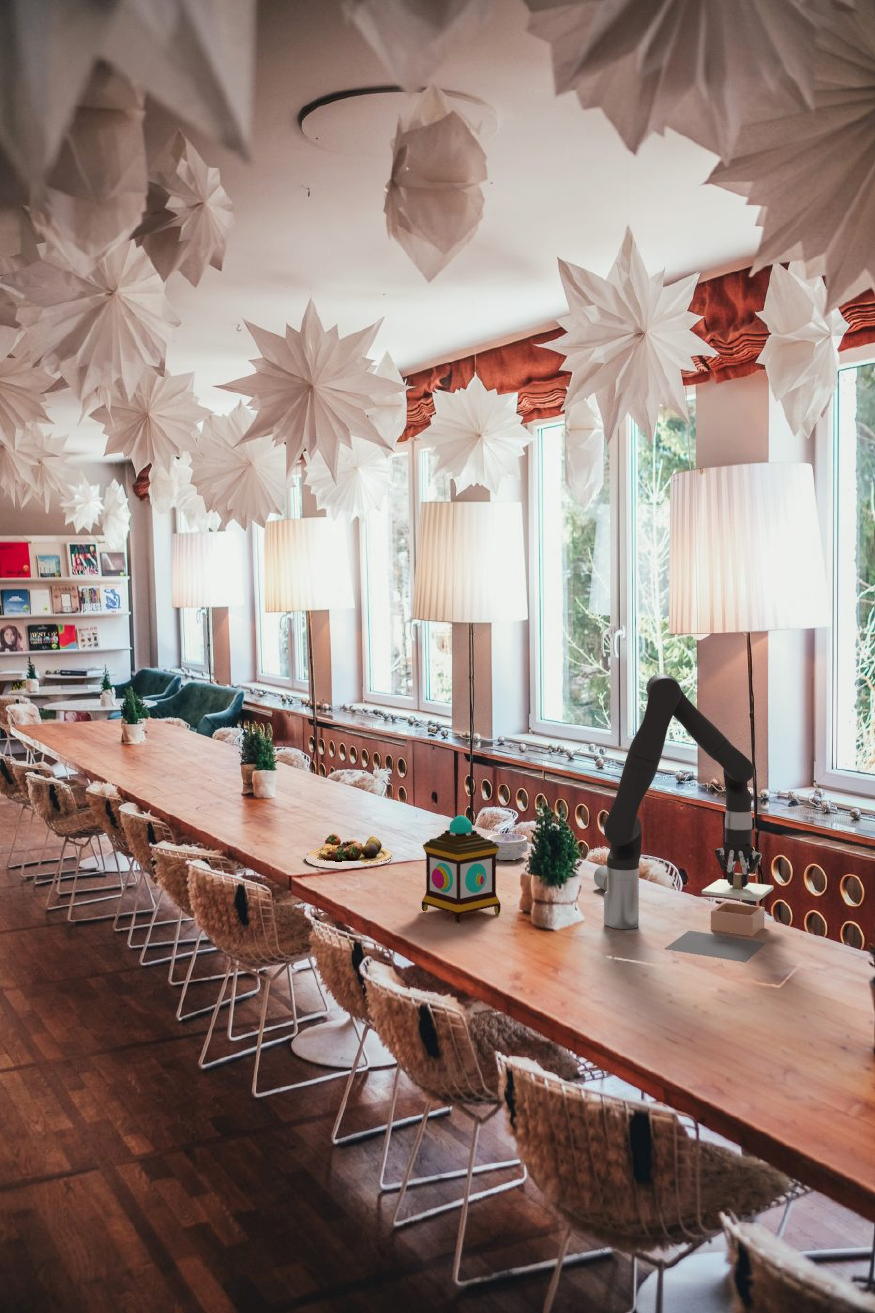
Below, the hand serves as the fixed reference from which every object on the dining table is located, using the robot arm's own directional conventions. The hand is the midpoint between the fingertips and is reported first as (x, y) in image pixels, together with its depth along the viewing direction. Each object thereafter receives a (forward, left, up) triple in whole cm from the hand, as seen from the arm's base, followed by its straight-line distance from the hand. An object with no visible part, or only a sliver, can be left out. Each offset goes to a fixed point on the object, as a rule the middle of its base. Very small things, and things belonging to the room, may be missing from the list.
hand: (738, 885), depth 322 cm
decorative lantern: (-77, -26, -13) cm, 82 cm away
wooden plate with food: (-149, +15, -14) cm, 150 cm away
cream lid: (0, 0, -2) cm, 2 cm away
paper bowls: (-100, +47, -13) cm, 111 cm away
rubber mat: (0, -20, -13) cm, 24 cm away
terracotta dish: (0, 0, -13) cm, 13 cm away
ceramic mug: (-49, +24, -13) cm, 56 cm away
